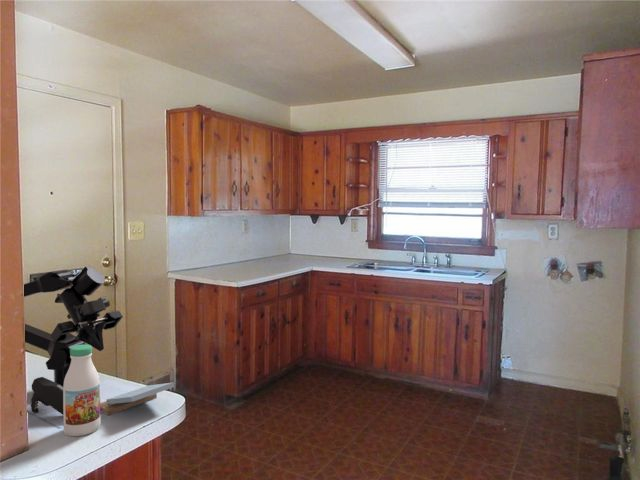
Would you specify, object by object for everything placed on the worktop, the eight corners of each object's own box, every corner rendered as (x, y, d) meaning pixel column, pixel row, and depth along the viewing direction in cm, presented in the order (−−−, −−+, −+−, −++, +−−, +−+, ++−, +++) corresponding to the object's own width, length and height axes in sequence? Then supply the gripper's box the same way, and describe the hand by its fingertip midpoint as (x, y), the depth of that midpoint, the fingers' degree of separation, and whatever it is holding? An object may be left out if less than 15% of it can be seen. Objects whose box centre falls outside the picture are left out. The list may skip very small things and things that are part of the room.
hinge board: (96, 409, 118) (95, 404, 118) (144, 392, 129) (144, 388, 129) (108, 415, 114) (108, 410, 114) (156, 397, 126) (156, 393, 126)
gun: (69, 441, 112) (85, 408, 111) (19, 406, 115) (34, 374, 113) (77, 435, 115) (92, 403, 114) (28, 402, 117) (43, 370, 116)
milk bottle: (56, 433, 105) (54, 349, 103) (83, 419, 112) (82, 340, 111) (81, 440, 102) (79, 353, 101) (107, 425, 109) (106, 344, 108)
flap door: (105, 399, 117) (131, 396, 109) (146, 385, 127) (173, 382, 119) (106, 405, 117) (132, 403, 109) (147, 391, 126) (174, 388, 119)
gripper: (55, 294, 119) (81, 342, 114) (118, 283, 135) (143, 325, 131) (40, 319, 124) (64, 366, 119) (102, 306, 140) (126, 347, 135)
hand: (101, 349), depth 126 cm, fingers closed
